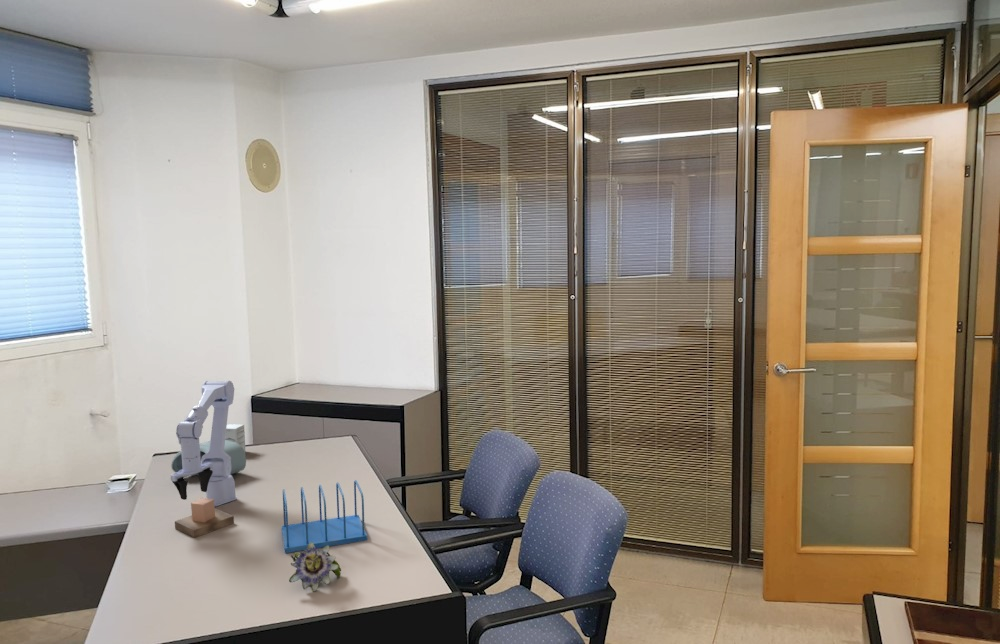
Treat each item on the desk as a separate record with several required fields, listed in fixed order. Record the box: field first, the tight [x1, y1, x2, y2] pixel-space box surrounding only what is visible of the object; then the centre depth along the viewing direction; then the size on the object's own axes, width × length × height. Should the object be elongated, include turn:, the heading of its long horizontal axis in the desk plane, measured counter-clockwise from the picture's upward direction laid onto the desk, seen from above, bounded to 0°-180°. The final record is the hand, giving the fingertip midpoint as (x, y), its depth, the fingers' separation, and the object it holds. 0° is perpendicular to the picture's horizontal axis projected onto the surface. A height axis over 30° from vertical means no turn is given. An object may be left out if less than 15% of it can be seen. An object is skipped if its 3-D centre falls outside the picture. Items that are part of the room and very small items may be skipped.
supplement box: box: [225, 423, 246, 453], centre depth 307 cm, size 7×7×13 cm
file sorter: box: [281, 479, 368, 554], centre depth 222 cm, size 25×17×15 cm
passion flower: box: [288, 542, 342, 593], centre depth 193 cm, size 13×12×14 cm
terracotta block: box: [190, 497, 216, 522], centre depth 231 cm, size 5×5×6 cm
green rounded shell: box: [170, 440, 247, 477], centre depth 278 cm, size 22×19×13 cm
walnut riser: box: [174, 507, 235, 539], centre depth 232 cm, size 14×12×2 cm
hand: (194, 495), depth 234 cm, fingers open, 7 cm apart
